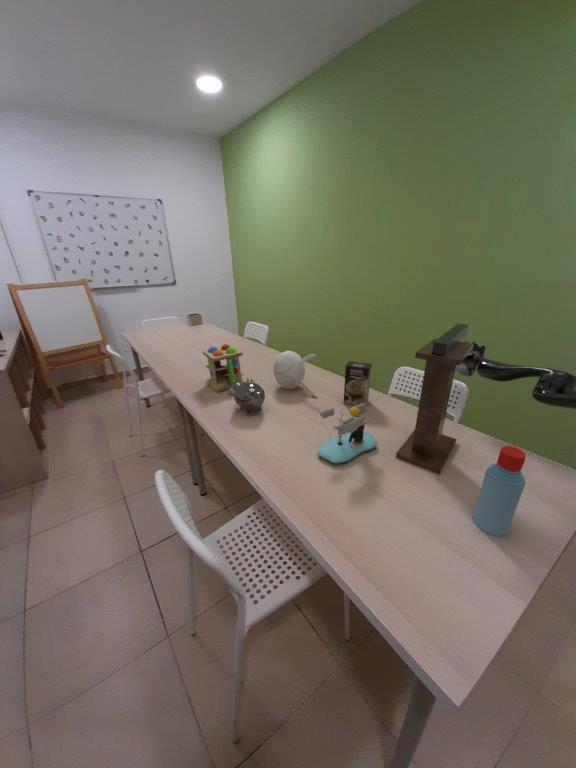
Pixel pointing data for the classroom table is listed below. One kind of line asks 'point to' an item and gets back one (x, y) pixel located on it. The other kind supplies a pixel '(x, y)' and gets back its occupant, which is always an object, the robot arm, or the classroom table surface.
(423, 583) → the classroom table surface
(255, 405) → the piggy bank
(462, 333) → the dark grey bar
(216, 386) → the pounding bench toy
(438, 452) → the stand
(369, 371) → the coffee box
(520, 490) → the bottle
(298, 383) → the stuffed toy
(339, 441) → the penguin figurine
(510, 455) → the cap
